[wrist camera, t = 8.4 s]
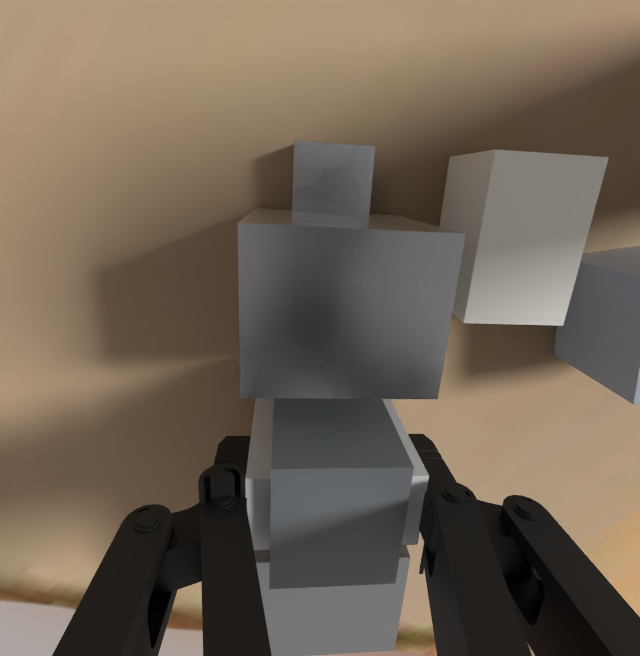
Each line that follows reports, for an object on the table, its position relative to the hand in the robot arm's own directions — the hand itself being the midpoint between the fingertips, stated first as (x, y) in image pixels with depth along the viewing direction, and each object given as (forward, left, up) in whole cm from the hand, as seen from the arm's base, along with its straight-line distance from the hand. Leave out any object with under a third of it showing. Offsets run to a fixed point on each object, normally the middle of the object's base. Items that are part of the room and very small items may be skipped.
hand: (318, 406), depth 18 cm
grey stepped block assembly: (-1, 0, -2) cm, 2 cm away
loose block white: (-8, +7, -2) cm, 11 cm away
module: (0, 0, 0) cm, 0 cm away
